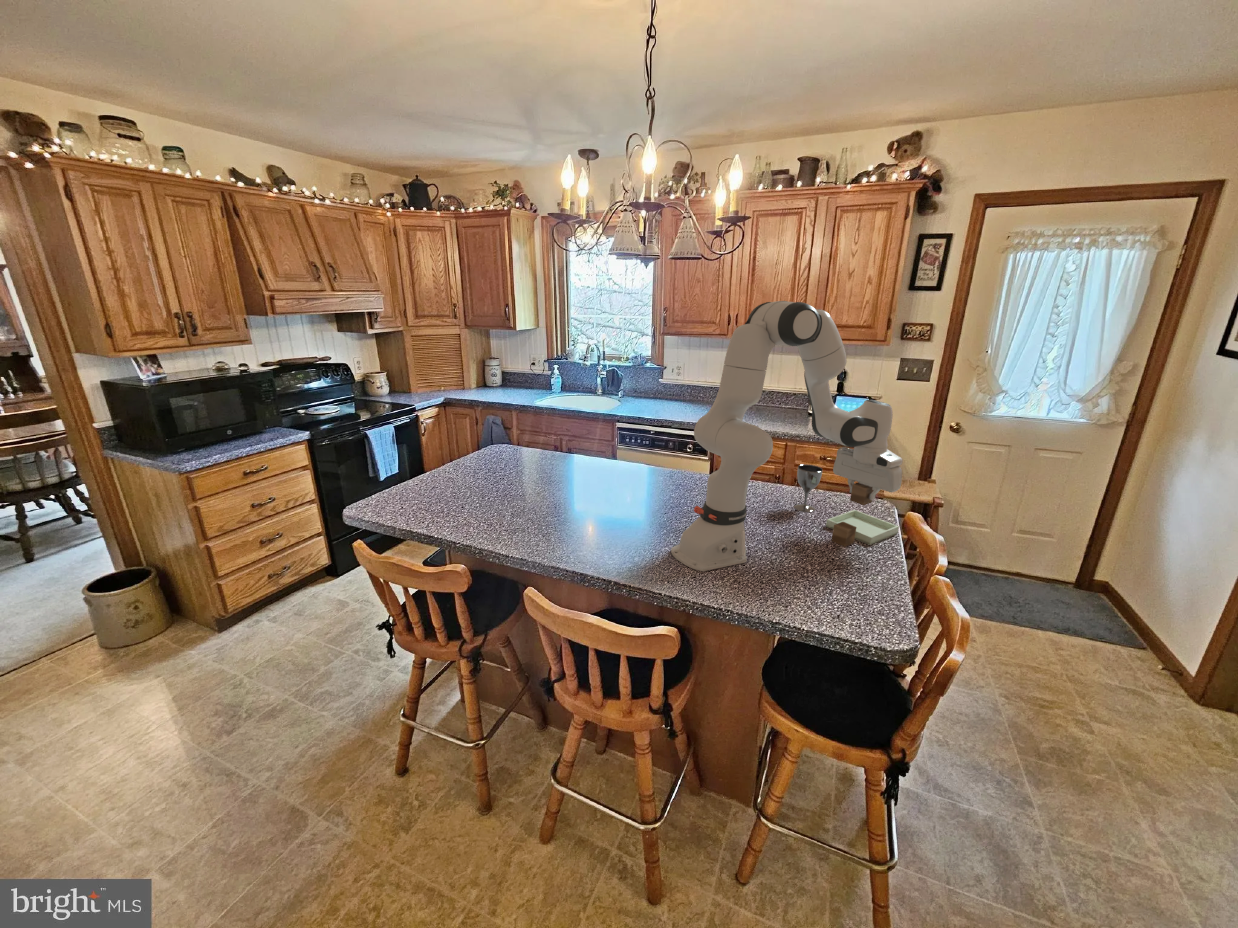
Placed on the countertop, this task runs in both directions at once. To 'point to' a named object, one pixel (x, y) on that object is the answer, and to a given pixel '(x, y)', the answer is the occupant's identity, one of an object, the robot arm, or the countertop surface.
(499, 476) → the countertop surface
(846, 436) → the robot arm
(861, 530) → the tray
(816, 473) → the wine glass
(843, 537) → the block
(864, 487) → the block
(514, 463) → the countertop surface
